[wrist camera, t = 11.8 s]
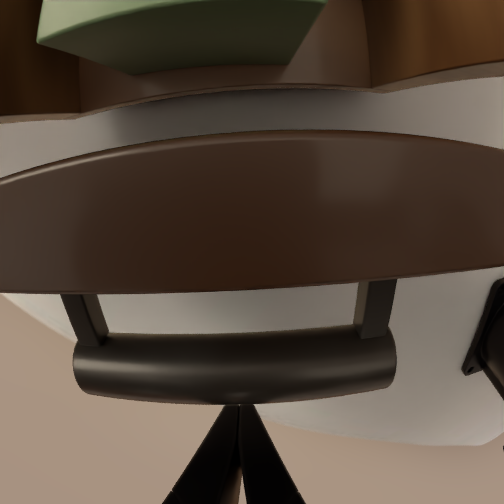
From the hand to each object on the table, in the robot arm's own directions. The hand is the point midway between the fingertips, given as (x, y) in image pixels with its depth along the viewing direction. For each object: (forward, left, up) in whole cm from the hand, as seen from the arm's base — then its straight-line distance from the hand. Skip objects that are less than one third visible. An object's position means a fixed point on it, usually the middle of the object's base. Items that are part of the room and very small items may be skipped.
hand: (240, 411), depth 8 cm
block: (+12, 0, -3) cm, 12 cm away
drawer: (+11, 0, -4) cm, 11 cm away
